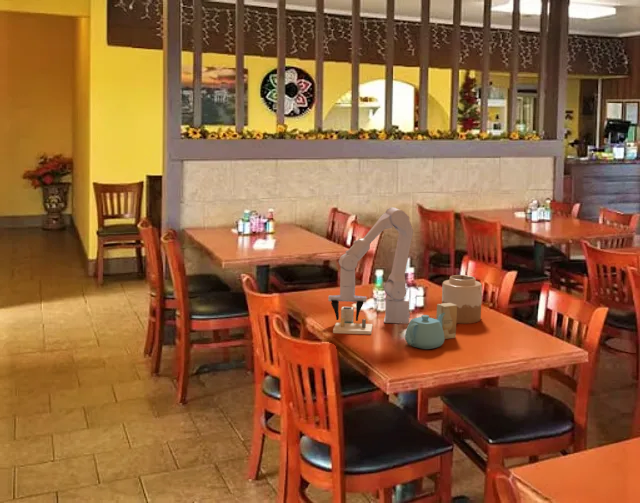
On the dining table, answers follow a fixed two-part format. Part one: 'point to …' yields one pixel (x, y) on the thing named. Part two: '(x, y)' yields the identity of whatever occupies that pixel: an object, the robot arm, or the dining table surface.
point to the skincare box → (448, 319)
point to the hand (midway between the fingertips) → (347, 319)
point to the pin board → (353, 327)
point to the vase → (463, 297)
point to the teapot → (425, 332)
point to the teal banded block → (347, 314)
